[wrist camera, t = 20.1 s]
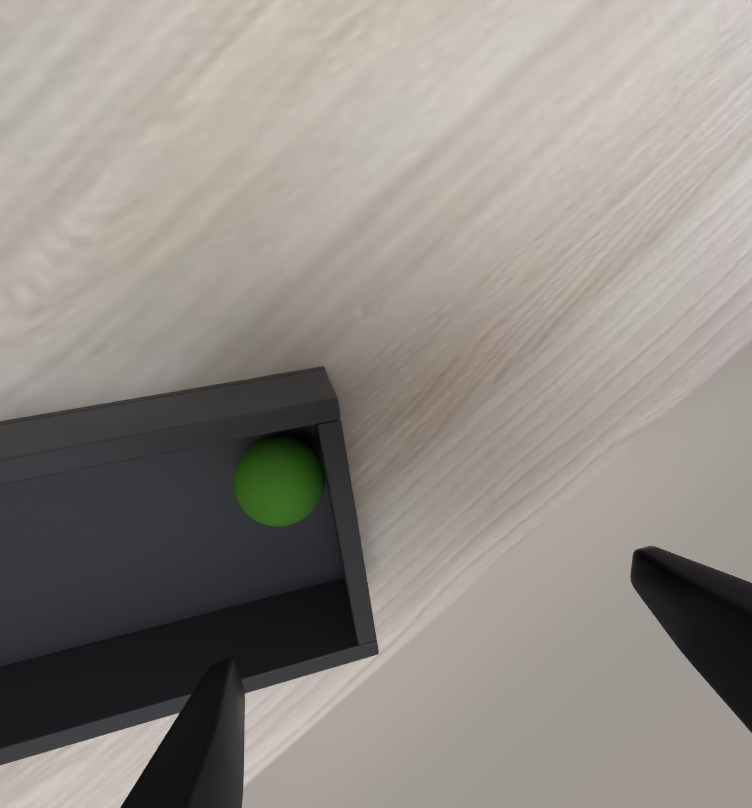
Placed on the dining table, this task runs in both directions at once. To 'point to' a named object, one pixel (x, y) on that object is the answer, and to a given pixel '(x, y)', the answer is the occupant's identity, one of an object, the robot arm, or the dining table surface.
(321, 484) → the pea
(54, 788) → the dining table surface
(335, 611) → the tray
